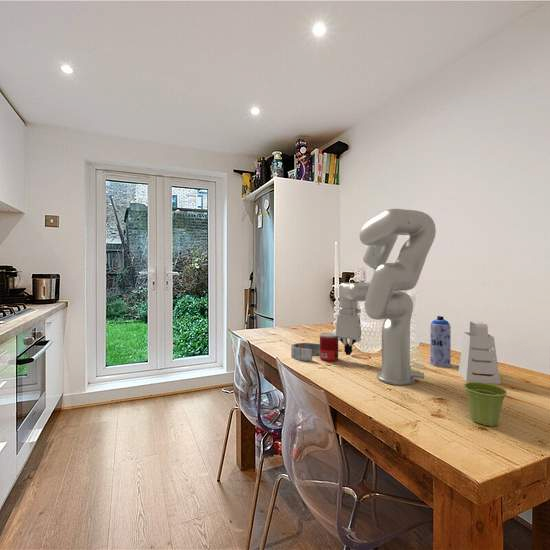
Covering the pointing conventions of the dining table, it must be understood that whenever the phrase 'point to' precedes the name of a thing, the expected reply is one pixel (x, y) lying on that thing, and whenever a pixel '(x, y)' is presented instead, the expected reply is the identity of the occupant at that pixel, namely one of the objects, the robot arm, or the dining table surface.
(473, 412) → the plant pot
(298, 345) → the duct collar
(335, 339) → the canned food
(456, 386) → the dining table surface
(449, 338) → the aerosol can
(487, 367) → the grater
